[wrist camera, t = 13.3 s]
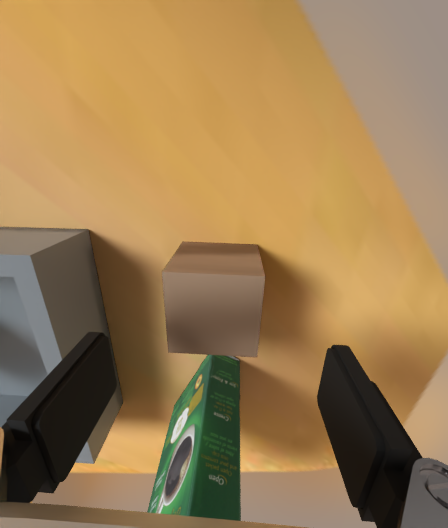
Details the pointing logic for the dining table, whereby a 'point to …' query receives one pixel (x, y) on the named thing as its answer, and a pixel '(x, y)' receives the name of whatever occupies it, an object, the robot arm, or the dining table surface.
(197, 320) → the walnut cube
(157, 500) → the coffee box
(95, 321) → the tote
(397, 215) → the dining table surface
